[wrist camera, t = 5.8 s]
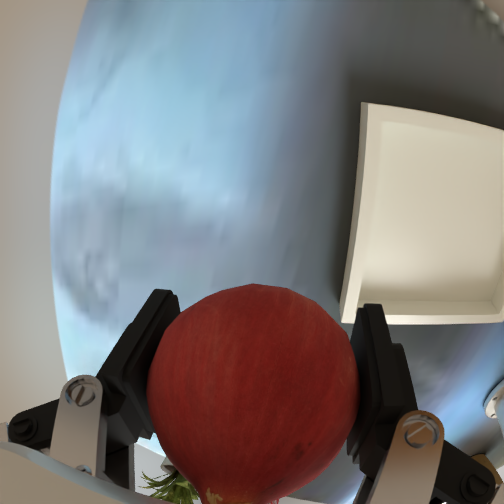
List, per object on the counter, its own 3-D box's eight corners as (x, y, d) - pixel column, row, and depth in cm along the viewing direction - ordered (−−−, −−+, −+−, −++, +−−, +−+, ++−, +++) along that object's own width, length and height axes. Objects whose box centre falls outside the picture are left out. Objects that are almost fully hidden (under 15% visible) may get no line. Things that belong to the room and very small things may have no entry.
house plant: (151, 405, 41) (112, 499, 27) (241, 435, 41) (220, 534, 27) (147, 439, 48) (118, 513, 34) (220, 463, 48) (201, 540, 34)
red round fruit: (359, 349, 12) (370, 547, 5) (227, 369, 14) (178, 538, 7) (329, 216, 10) (354, 496, 3) (167, 258, 11) (39, 454, 4)
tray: (539, 141, 17) (556, 148, 15) (492, 306, 25) (502, 322, 23) (361, 101, 19) (368, 103, 17) (339, 304, 28) (341, 322, 25)
